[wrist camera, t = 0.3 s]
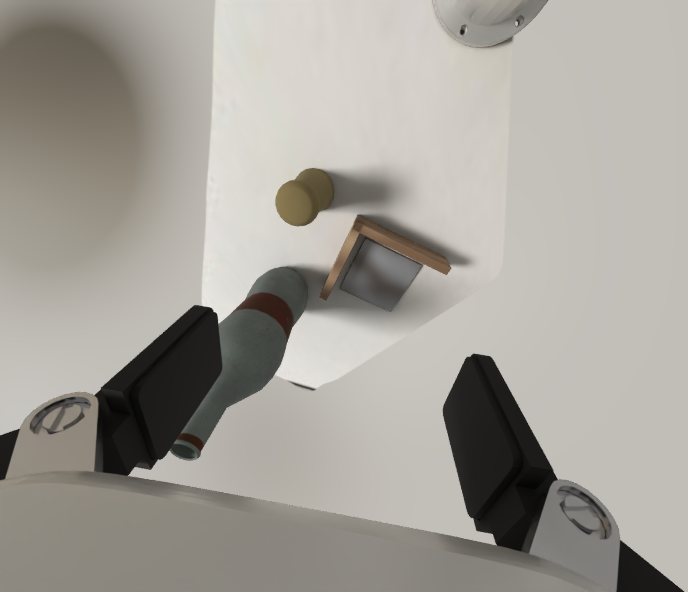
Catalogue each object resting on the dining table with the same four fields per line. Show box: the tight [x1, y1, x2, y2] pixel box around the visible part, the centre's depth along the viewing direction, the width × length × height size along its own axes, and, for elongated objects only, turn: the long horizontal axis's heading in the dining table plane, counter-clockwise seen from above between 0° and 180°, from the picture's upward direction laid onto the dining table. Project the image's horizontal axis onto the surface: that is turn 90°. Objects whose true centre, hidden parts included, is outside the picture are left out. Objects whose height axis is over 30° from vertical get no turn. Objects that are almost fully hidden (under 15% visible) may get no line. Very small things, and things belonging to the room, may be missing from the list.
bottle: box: [170, 267, 308, 461], centre depth 37 cm, size 9×9×30 cm
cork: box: [276, 168, 334, 226], centre depth 36 cm, size 6×6×11 cm
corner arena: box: [320, 215, 451, 312], centre depth 44 cm, size 14×15×4 cm
